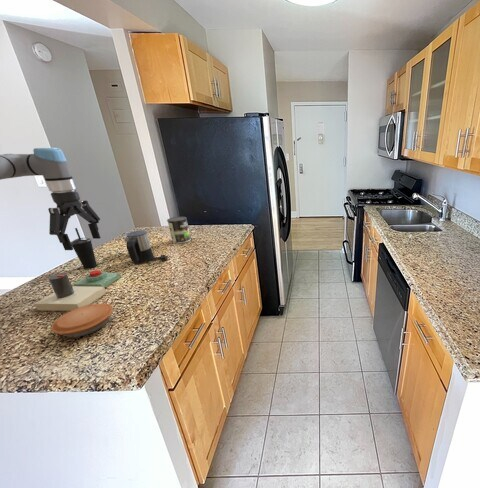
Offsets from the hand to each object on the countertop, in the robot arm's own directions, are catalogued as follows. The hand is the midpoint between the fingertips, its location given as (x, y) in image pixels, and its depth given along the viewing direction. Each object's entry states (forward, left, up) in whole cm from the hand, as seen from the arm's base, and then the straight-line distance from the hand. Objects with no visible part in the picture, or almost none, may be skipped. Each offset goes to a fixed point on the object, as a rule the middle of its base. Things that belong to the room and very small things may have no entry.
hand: (83, 243), depth 106 cm
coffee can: (+9, +51, -19) cm, 55 cm away
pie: (+20, -28, -19) cm, 39 cm away
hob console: (+2, -14, -18) cm, 23 cm away
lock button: (0, 0, -15) cm, 15 cm away
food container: (-5, +31, -19) cm, 37 cm away
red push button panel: (0, 0, -18) cm, 18 cm away
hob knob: (0, -14, -15) cm, 21 cm away
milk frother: (+8, +23, -19) cm, 31 cm away
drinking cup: (-17, +15, -19) cm, 29 cm away
